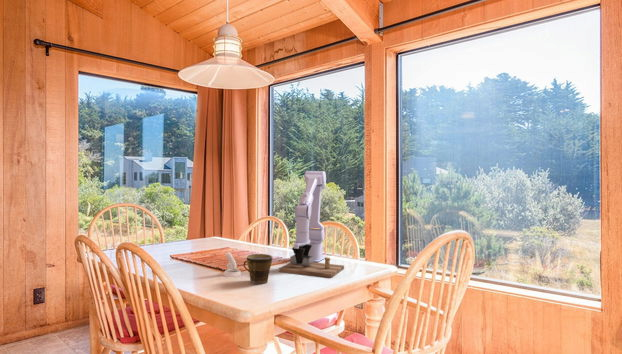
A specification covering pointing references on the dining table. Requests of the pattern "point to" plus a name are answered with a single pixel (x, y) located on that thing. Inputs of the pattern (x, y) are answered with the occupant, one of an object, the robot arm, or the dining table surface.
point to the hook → (231, 267)
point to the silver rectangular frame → (306, 260)
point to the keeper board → (314, 269)
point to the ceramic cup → (258, 267)
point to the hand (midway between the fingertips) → (301, 262)
